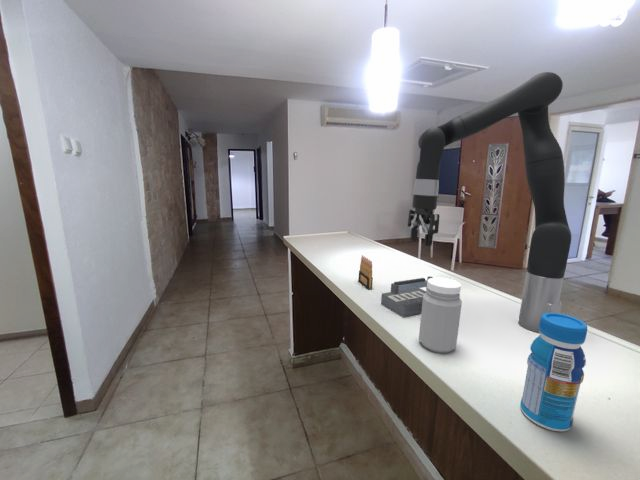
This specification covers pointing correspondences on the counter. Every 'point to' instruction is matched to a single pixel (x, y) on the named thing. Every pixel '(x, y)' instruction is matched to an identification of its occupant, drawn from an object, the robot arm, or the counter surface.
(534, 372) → the beverage bottle
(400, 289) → the bar
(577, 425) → the counter surface
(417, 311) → the grey block
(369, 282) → the ammunition clip
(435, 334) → the jar
